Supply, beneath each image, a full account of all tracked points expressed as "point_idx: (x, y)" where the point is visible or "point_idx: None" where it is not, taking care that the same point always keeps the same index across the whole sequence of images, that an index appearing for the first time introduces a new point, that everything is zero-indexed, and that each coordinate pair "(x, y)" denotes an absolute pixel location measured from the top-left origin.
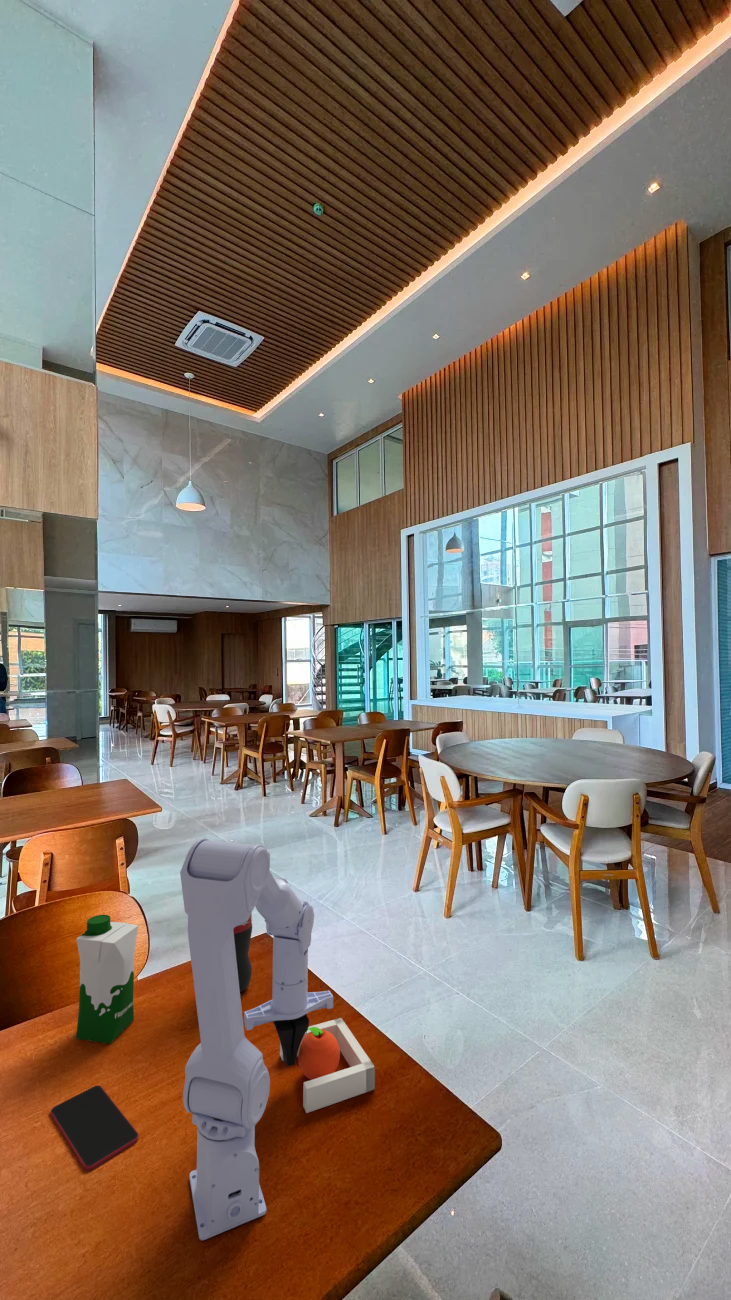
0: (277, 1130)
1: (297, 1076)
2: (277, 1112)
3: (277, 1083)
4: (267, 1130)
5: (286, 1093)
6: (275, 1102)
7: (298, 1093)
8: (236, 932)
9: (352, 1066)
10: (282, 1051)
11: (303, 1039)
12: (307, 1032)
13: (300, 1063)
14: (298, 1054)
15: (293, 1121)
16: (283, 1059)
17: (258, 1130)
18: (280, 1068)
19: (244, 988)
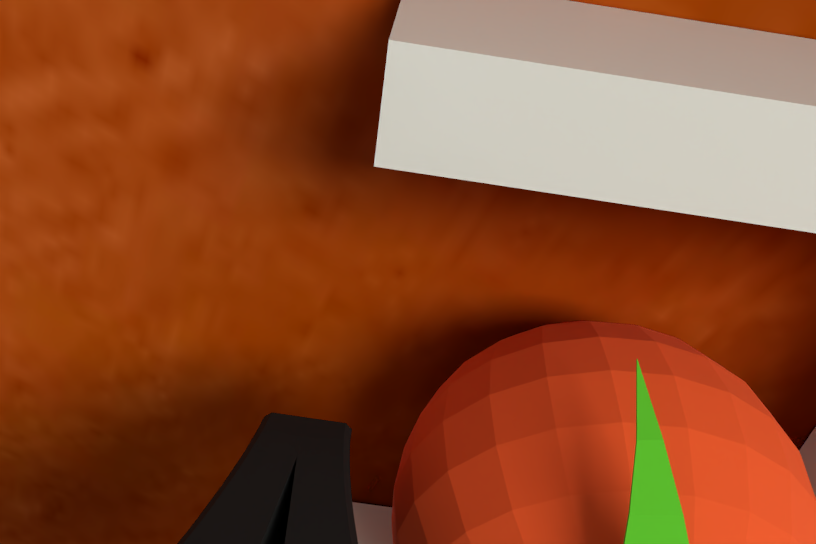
0: (159, 536)
1: (427, 303)
2: (187, 463)
3: (256, 283)
4: (108, 515)
5: (286, 386)
6: (195, 406)
7: (359, 421)
8: None
9: (810, 472)
10: (237, 463)
11: (498, 538)
12: (746, 214)
13: (392, 506)
14: (409, 476)
15: None
16: (262, 422)
17: (61, 496)
18: (339, 151)
19: None
